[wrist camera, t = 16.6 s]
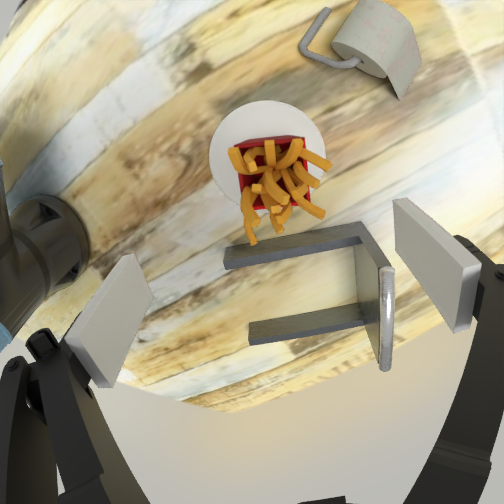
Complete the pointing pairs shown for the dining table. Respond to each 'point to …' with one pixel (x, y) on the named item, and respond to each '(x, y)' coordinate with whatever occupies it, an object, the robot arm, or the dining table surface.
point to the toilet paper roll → (372, 43)
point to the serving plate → (259, 126)
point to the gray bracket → (339, 318)
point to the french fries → (275, 179)
